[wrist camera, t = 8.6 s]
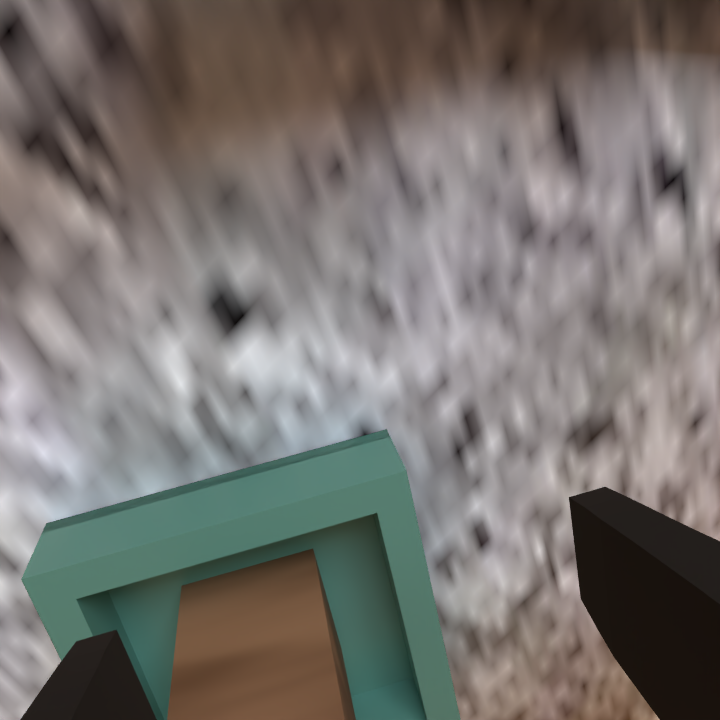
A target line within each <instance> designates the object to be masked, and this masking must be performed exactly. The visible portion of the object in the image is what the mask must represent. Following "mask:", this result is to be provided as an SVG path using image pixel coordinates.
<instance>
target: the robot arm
mask: <svg viewBox="0 0 720 720" xmlns="http://www.w3.org/2000/svg"><path fill="white" fill-rule="evenodd" d="M569 502H570V510H571V519H572V527H573V536H574V544H575V553H576V561H577V570H578V579H579V587H580V596H581V600H582V602H583V604H584V605H585V607H586V609H587V611H588V613H589V614H590V616H591V618H592V620H593V622H594V623H595V625H596V627H597V629H598V631H599V632H600V634H601V636H602V637H603V639H604V641H605V643H606V644H607V646H608V648H609V649H610V651H611V653H612V654H613V656H614V658H615V659H616V660H617V662H618V663H619V664H620V666H621V667H622V669H623V670H624V671H625V673H626V674H627V676H628V677H629V678H630V680H631V681H632V682H633V684H634V685H635V686H636V688H637V689H638V691H639V692H640V693H641V695H642V696H643V697H644V699H645V700H646V701H647V703H648V704H649V706H650V707H651V708H652V710H653V711H654V712H655V714H656V715H657V716H658V718H659V719H660V720H720V541H718V540H716V539H713V538H711V537H709V536H707V535H705V534H703V533H700V532H698V531H696V530H694V529H692V528H690V527H688V526H686V525H684V524H682V523H680V522H677V521H675V520H673V519H671V518H669V517H667V516H665V515H663V514H661V513H659V512H657V511H655V510H653V509H651V508H649V507H647V506H645V505H643V504H641V503H639V502H636V501H634V500H632V499H630V498H628V497H626V496H624V495H622V494H620V493H618V492H616V491H613V490H611V489H609V488H607V487H603V488H599V489H596V490H593V491H589V492H586V493H582V494H579V495H575V496H572V497H569ZM21 720H157V719H156V717H155V715H154V712H153V710H152V708H151V706H150V703H149V701H148V699H147V697H146V694H145V692H144V690H143V688H142V685H141V683H140V681H139V679H138V676H137V674H136V672H135V670H134V667H133V665H132V663H131V661H130V658H129V656H128V654H127V652H126V649H125V647H124V645H123V643H122V640H121V638H120V636H119V634H118V631H117V630H113V631H110V632H106V633H103V634H100V635H96V636H93V637H89V638H86V639H82V640H79V641H76V642H75V644H74V645H73V646H72V648H71V649H70V650H69V651H68V653H67V654H66V656H65V657H64V658H63V660H62V661H61V663H60V664H59V665H58V667H57V668H56V670H55V671H54V672H53V674H52V675H51V677H50V678H49V680H48V681H47V682H46V684H45V685H44V687H43V688H42V690H41V691H40V693H39V694H38V695H37V697H36V698H35V700H34V701H33V703H32V704H31V705H30V707H29V708H28V710H27V711H26V713H25V714H24V715H23V717H22V718H21Z"/></svg>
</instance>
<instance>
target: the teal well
mask: <svg viewBox="0 0 720 720" xmlns="http://www.w3.org/2000/svg"><path fill="white" fill-rule="evenodd" d="M309 549H313V550H314V553H315V557H316V560H317V564H318V567H319V571H320V574H321V578H322V581H323V585H324V588H325V592H326V596H327V599H328V603H329V606H330V610H331V613H332V617H333V620H334V624H335V627H336V631H337V635H338V638H339V642H340V645H341V649H342V654H343V658H344V663H345V668H346V673H347V678H348V683H349V688H350V693H351V698H352V703H353V708H354V713H355V718H356V720H460V715H459V710H458V706H457V701H456V697H455V692H454V688H453V683H452V678H451V674H450V669H449V665H448V660H447V655H446V651H445V646H444V642H443V637H442V632H441V628H440V623H439V619H438V614H437V609H436V605H435V600H434V596H433V591H432V586H431V582H430V577H429V573H428V568H427V563H426V559H425V554H424V550H423V545H422V540H421V536H420V531H419V527H418V522H417V517H416V513H415V508H414V504H413V499H412V494H411V490H410V485H409V481H408V476H407V472H406V469H405V467H404V465H403V463H402V461H401V459H400V456H399V454H398V452H397V450H396V448H395V446H394V444H393V442H392V440H391V438H390V436H389V434H388V432H387V430H383V431H379V432H375V433H372V434H368V435H365V436H361V437H357V438H354V439H350V440H346V441H343V442H339V443H336V444H332V445H328V446H325V447H321V448H318V449H314V450H310V451H307V452H303V453H299V454H296V455H292V456H289V457H285V458H281V459H278V460H274V461H271V462H267V463H263V464H260V465H256V466H252V467H249V468H245V469H242V470H238V471H234V472H231V473H227V474H223V475H220V476H216V477H213V478H209V479H205V480H202V481H198V482H195V483H191V484H187V485H184V486H180V487H176V488H173V489H169V490H166V491H162V492H158V493H155V494H151V495H148V496H144V497H140V498H137V499H133V500H129V501H126V502H122V503H119V504H115V505H111V506H108V507H104V508H101V509H97V510H93V511H90V512H86V513H82V514H79V515H75V516H72V517H68V518H64V519H61V520H57V521H53V522H50V523H46V526H45V528H44V530H43V532H42V535H41V537H40V539H39V541H38V543H37V546H36V548H35V550H34V552H33V554H32V557H31V559H30V561H29V563H28V566H27V568H26V570H25V572H24V574H23V577H22V579H21V580H22V582H23V584H24V586H25V588H26V590H27V592H28V594H29V596H30V598H31V600H32V602H33V604H34V606H35V608H36V610H37V612H38V614H39V616H40V618H41V620H42V622H43V624H44V626H45V628H46V630H47V632H48V634H49V636H50V638H51V640H52V642H53V645H54V647H55V649H56V651H57V653H58V655H59V657H60V659H61V661H62V660H63V658H64V657H65V656H66V654H67V653H68V651H69V650H70V649H71V648H72V646H73V645H74V644H75V642H76V641H79V640H82V639H86V638H89V637H93V636H96V635H100V634H103V633H106V632H110V631H113V630H117V631H118V634H119V636H120V638H121V640H122V643H123V645H124V647H125V649H126V652H127V654H128V656H129V658H130V661H131V663H132V665H133V667H134V670H135V672H136V674H137V676H138V679H139V681H140V683H141V685H142V688H143V690H144V692H145V694H146V697H147V699H148V701H149V703H150V706H151V708H152V710H153V712H154V715H155V717H156V719H157V720H167V716H168V707H169V698H170V689H171V679H172V670H173V661H174V651H175V642H176V633H177V623H178V614H179V605H180V595H181V586H182V585H186V584H189V583H193V582H196V581H200V580H203V579H207V578H210V577H214V576H217V575H221V574H224V573H228V572H231V571H235V570H239V569H242V568H246V567H249V566H253V565H256V564H260V563H263V562H267V561H270V560H274V559H277V558H281V557H284V556H288V555H291V554H295V553H299V552H302V551H306V550H309Z"/></svg>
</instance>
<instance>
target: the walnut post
mask: <svg viewBox="0 0 720 720" xmlns="http://www.w3.org/2000/svg"><path fill="white" fill-rule="evenodd" d="M167 720H356V718H355V713H354V708H353V703H352V698H351V693H350V688H349V683H348V678H347V673H346V668H345V663H344V658H343V654H342V649H341V645H340V642H339V638H338V635H337V631H336V627H335V624H334V620H333V617H332V613H331V610H330V606H329V603H328V599H327V596H326V592H325V588H324V585H323V581H322V578H321V574H320V571H319V567H318V564H317V560H316V557H315V553H314V550H313V549H309V550H306V551H302V552H299V553H295V554H291V555H288V556H284V557H281V558H277V559H274V560H270V561H267V562H263V563H260V564H256V565H253V566H249V567H246V568H242V569H239V570H235V571H231V572H228V573H224V574H221V575H217V576H214V577H210V578H207V579H203V580H200V581H196V582H193V583H189V584H186V585H182V586H181V595H180V605H179V614H178V623H177V633H176V642H175V651H174V661H173V670H172V679H171V689H170V698H169V707H168V716H167Z"/></svg>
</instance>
